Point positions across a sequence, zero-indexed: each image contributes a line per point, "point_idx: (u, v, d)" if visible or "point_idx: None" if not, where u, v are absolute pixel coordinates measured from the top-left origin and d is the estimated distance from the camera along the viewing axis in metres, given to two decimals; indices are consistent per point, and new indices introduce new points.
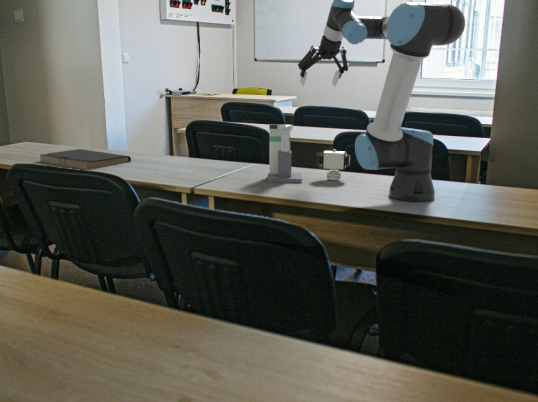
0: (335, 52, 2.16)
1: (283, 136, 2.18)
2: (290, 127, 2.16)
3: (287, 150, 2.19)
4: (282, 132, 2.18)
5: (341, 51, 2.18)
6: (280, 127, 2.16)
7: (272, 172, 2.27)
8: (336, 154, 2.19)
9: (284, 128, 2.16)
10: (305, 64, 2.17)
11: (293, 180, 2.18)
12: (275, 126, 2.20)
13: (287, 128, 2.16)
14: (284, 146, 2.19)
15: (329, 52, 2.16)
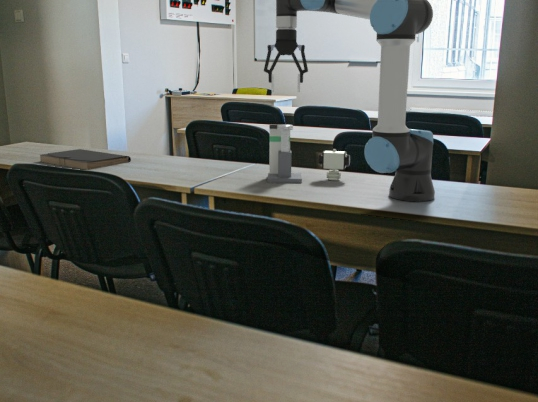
0: (292, 45, 2.10)
1: (283, 136, 2.18)
2: (290, 127, 2.16)
3: (287, 150, 2.19)
4: (282, 132, 2.18)
5: (299, 47, 2.11)
6: (280, 127, 2.16)
7: (272, 172, 2.27)
8: (336, 154, 2.19)
9: (284, 128, 2.16)
10: (267, 64, 2.12)
11: (293, 180, 2.18)
12: (275, 126, 2.20)
13: (287, 128, 2.16)
14: (284, 146, 2.19)
15: (286, 46, 2.10)
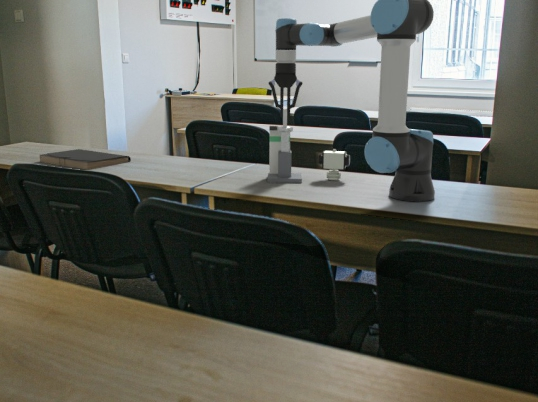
0: (292, 77, 2.13)
1: (283, 138, 2.18)
2: (290, 129, 2.17)
3: None
4: (282, 134, 2.18)
5: (297, 82, 2.14)
6: (280, 129, 2.16)
7: (272, 172, 2.27)
8: (336, 154, 2.19)
9: (284, 130, 2.16)
10: (276, 99, 2.15)
11: (293, 180, 2.18)
12: (275, 128, 2.20)
13: (287, 130, 2.16)
14: (284, 148, 2.19)
15: (285, 79, 2.13)
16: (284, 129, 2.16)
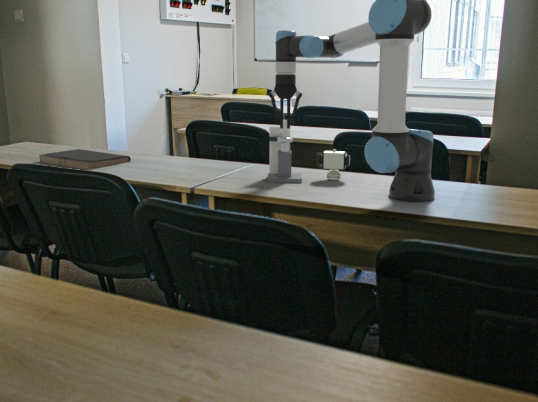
0: (292, 89, 2.14)
1: (283, 149, 2.19)
2: (290, 139, 2.18)
3: None
4: (282, 145, 2.19)
5: (297, 93, 2.15)
6: (280, 139, 2.17)
7: (272, 172, 2.27)
8: (336, 154, 2.19)
9: (284, 140, 2.17)
10: (276, 110, 2.16)
11: (293, 180, 2.18)
12: (275, 138, 2.21)
13: (287, 140, 2.17)
14: None
15: (285, 90, 2.14)
16: (284, 140, 2.17)
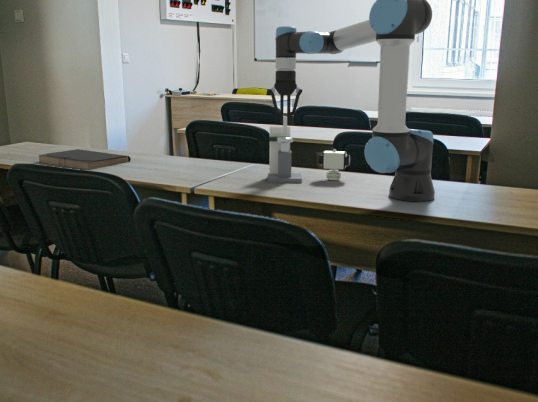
0: (292, 85, 2.14)
1: (283, 149, 2.19)
2: (290, 140, 2.18)
3: None
4: (282, 145, 2.19)
5: (297, 89, 2.15)
6: (280, 140, 2.17)
7: (272, 172, 2.27)
8: (336, 154, 2.19)
9: (284, 141, 2.17)
10: (276, 107, 2.16)
11: (293, 180, 2.18)
12: (275, 138, 2.21)
13: (287, 141, 2.17)
14: None
15: (285, 87, 2.14)
16: (284, 140, 2.17)
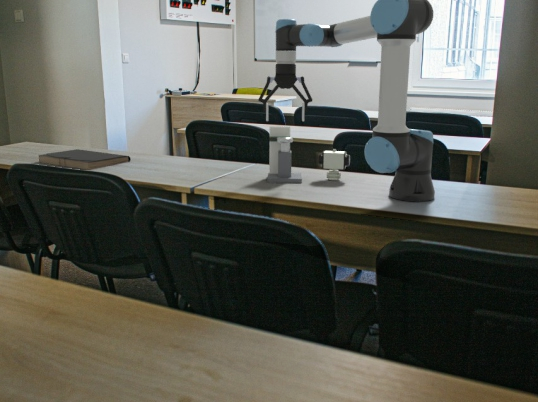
0: (292, 79, 2.13)
1: (283, 149, 2.19)
2: (290, 140, 2.18)
3: None
4: (282, 145, 2.19)
5: (299, 79, 2.14)
6: (280, 140, 2.17)
7: (272, 172, 2.27)
8: (336, 154, 2.19)
9: (284, 141, 2.17)
10: (263, 95, 2.15)
11: (293, 180, 2.18)
12: (275, 138, 2.21)
13: (287, 141, 2.17)
14: None
15: (285, 80, 2.13)
16: (284, 140, 2.17)
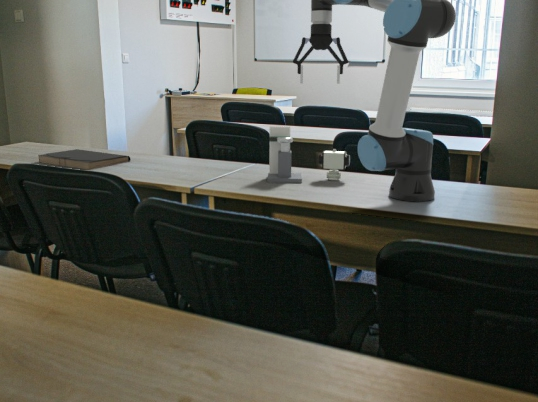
0: (327, 40, 2.09)
1: (283, 149, 2.19)
2: (290, 140, 2.18)
3: None
4: (282, 145, 2.19)
5: (335, 40, 2.10)
6: (280, 140, 2.17)
7: (272, 172, 2.27)
8: (336, 154, 2.19)
9: (284, 141, 2.17)
10: (298, 56, 2.11)
11: (293, 180, 2.18)
12: (275, 138, 2.21)
13: (287, 141, 2.17)
14: None
15: (321, 41, 2.09)
16: (284, 140, 2.17)
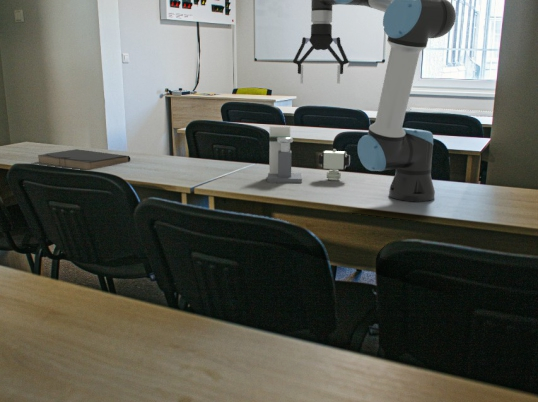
0: (328, 40, 2.09)
1: (283, 149, 2.19)
2: (290, 140, 2.18)
3: None
4: (282, 145, 2.19)
5: (335, 40, 2.10)
6: (280, 140, 2.17)
7: (272, 172, 2.27)
8: (336, 154, 2.19)
9: (284, 141, 2.17)
10: (298, 56, 2.11)
11: (293, 180, 2.18)
12: (275, 138, 2.21)
13: (287, 141, 2.17)
14: None
15: (321, 40, 2.09)
16: (284, 140, 2.17)
